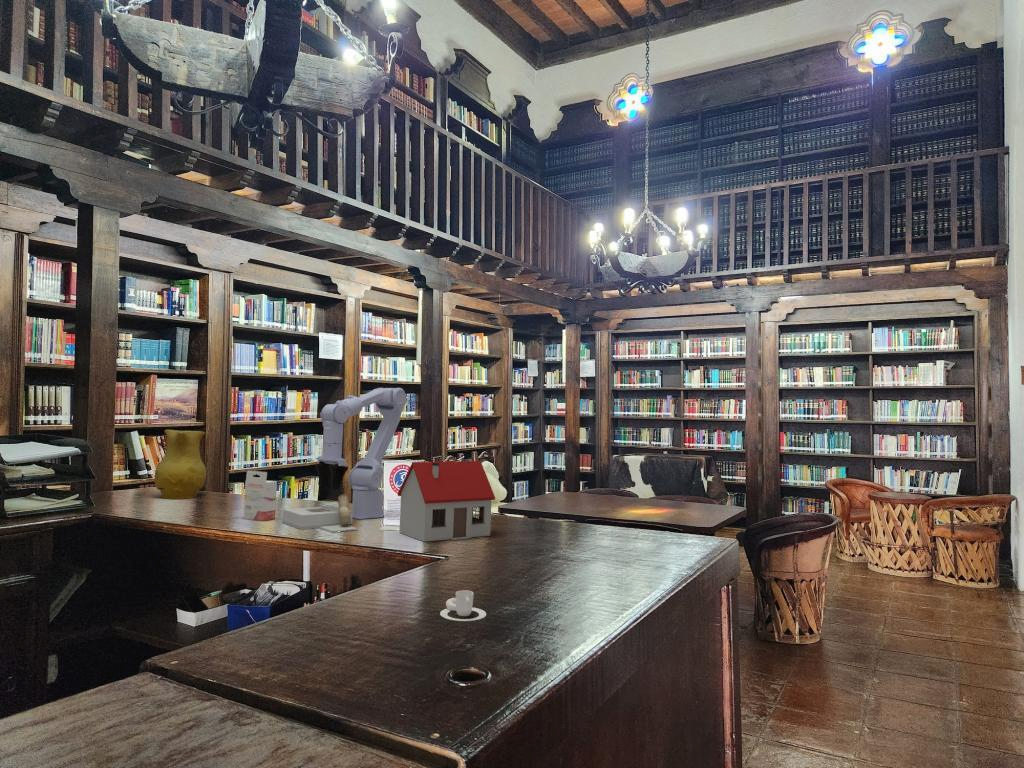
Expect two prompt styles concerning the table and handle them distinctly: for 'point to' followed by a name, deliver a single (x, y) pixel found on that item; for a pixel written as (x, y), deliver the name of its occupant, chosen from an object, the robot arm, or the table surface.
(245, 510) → the ink cartridge box
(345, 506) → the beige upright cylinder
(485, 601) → the table surface
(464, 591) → the teacup and saucer
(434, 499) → the house model
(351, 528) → the rest pad
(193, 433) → the pitcher
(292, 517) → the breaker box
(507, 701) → the table surface
